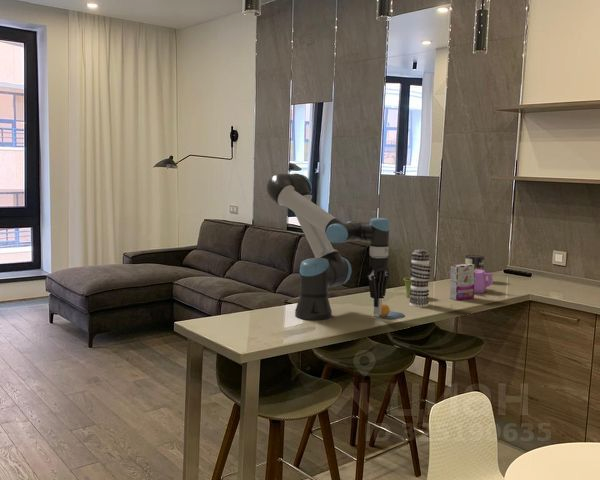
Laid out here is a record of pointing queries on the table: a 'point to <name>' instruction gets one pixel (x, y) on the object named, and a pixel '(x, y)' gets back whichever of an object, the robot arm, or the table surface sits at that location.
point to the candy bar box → (462, 281)
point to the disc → (392, 315)
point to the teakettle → (481, 281)
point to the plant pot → (408, 286)
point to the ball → (384, 310)
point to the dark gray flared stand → (475, 261)
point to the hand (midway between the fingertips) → (377, 314)
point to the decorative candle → (419, 278)
